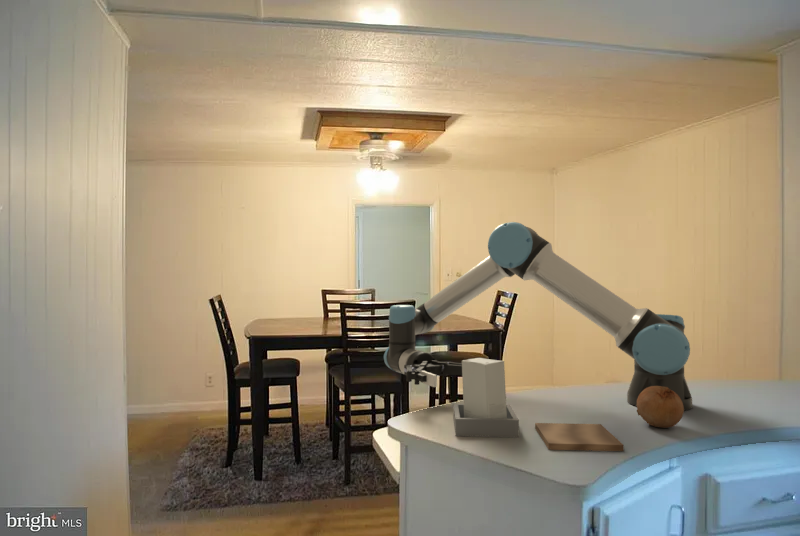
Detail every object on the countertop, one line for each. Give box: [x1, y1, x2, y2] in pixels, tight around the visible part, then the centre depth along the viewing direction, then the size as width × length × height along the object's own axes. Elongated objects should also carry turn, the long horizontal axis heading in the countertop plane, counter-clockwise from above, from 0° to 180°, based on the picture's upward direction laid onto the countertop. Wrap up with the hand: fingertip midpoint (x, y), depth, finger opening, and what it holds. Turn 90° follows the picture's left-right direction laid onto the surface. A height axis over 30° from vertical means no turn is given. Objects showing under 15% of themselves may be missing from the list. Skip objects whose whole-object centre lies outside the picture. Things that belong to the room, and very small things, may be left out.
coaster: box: [534, 422, 625, 452], centre depth 108 cm, size 14×14×1 cm
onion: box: [636, 386, 685, 429], centre depth 118 cm, size 10×9×10 cm
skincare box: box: [461, 357, 507, 419], centre depth 116 cm, size 8×6×15 cm
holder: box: [452, 403, 520, 438], centre depth 116 cm, size 13×13×4 cm
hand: (460, 378), depth 125 cm, fingers open, 13 cm apart
